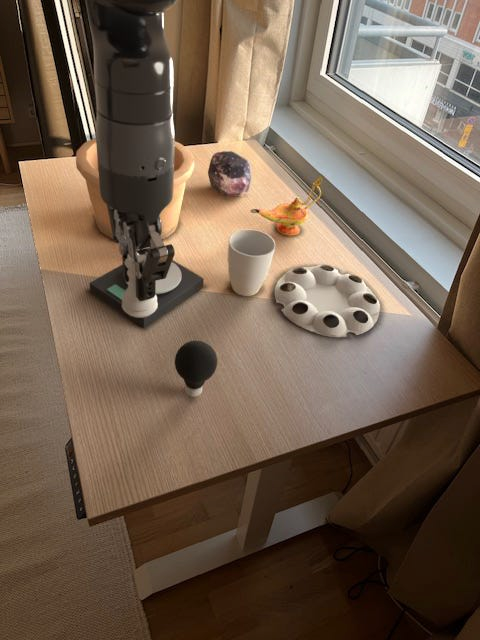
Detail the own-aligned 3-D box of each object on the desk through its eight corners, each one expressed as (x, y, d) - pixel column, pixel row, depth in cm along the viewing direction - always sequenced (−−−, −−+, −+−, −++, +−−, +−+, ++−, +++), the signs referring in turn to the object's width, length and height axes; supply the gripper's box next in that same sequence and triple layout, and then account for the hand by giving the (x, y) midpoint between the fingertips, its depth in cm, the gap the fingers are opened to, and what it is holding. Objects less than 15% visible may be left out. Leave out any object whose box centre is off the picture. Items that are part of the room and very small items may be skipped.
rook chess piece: (145, 291, 67) (145, 240, 62) (164, 311, 65) (165, 259, 60) (115, 303, 65) (111, 251, 60) (133, 324, 63) (131, 272, 57)
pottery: (62, 212, 107) (53, 145, 97) (151, 185, 119) (151, 123, 109) (119, 265, 96) (116, 196, 86) (211, 230, 108) (217, 166, 98)
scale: (143, 328, 85) (143, 315, 83) (90, 291, 90) (88, 279, 88) (203, 287, 94) (204, 274, 92) (151, 256, 99) (151, 244, 97)
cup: (274, 297, 94) (283, 252, 88) (232, 304, 92) (238, 259, 85) (256, 270, 100) (264, 226, 93) (217, 277, 97) (221, 232, 90)
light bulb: (168, 383, 77) (170, 335, 70) (206, 375, 79) (211, 328, 72) (179, 414, 73) (182, 367, 66) (218, 405, 75) (225, 358, 68)
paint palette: (252, 288, 95) (254, 280, 94) (324, 256, 106) (326, 248, 104) (330, 353, 85) (332, 345, 84) (400, 310, 96) (404, 302, 94)
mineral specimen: (252, 175, 124) (257, 145, 115) (245, 210, 120) (249, 182, 111) (212, 167, 124) (213, 137, 115) (203, 202, 120) (204, 173, 111)
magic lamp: (238, 231, 109) (244, 183, 102) (304, 214, 117) (315, 169, 110) (255, 248, 105) (263, 200, 98) (323, 229, 113) (335, 184, 106)
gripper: (75, 130, 54) (88, 263, 65) (128, 196, 46) (133, 335, 57) (142, 122, 57) (144, 250, 69) (203, 182, 49) (193, 315, 61)
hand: (139, 288), depth 63 cm, fingers closed on rook chess piece, 3 cm apart
